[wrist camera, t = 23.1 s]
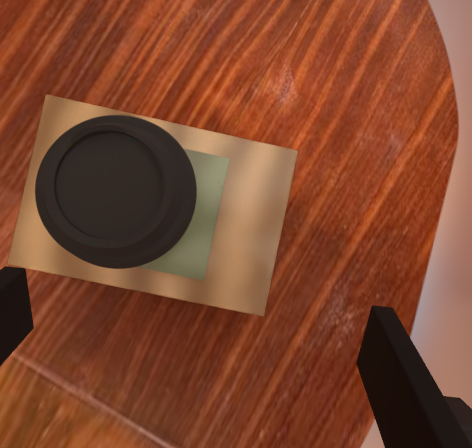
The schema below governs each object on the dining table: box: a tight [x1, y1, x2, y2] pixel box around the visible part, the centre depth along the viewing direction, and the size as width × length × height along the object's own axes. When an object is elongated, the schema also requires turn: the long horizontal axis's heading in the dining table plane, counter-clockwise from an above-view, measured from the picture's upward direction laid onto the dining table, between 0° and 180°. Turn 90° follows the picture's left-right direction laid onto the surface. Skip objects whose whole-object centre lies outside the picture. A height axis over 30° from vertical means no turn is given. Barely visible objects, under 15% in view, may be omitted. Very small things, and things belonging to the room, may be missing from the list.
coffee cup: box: [35, 115, 197, 269], centre depth 27 cm, size 9×9×15 cm
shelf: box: [7, 95, 298, 316], centre depth 39 cm, size 24×16×9 cm, turn 78°
